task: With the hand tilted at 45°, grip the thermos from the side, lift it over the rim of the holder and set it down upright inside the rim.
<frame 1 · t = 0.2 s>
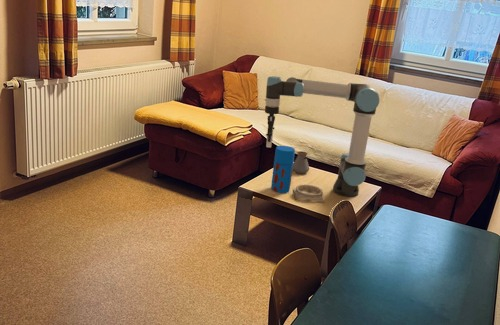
hand: (269, 144, 267), 28 cm above the table, tool pointing down, fingers open, 13 cm apart
thermos stand: (308, 195, 276), on the table
thermos: (280, 190, 281), on the table
coffee pot: (301, 174, 309), on the table
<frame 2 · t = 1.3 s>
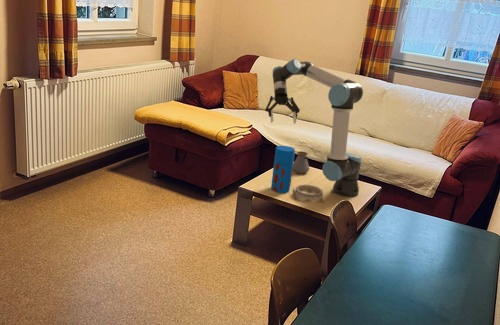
hand: (283, 122, 278), 38 cm above the table, tool tilted 45°, fingers open, 13 cm apart
nothing on the table moved.
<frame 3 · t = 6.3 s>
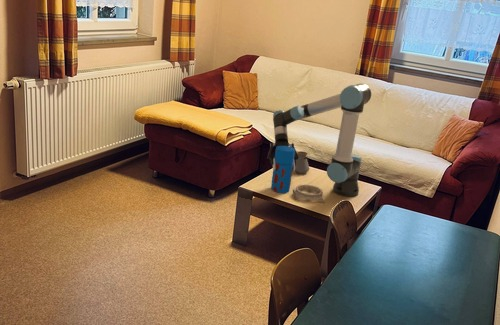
hand: (284, 170, 274), 13 cm above the table, tool tilted 45°, fingers closed on thermos, 11 cm apart
thermos: (280, 190, 281), on the table, touching gripper
everything else where it was.
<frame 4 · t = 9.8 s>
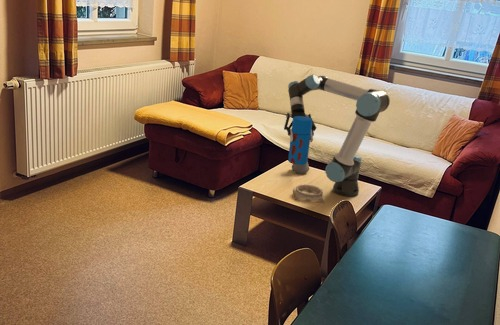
hand: (301, 140, 266), 32 cm above the table, tool tilted 45°, fingers closed on thermos, 11 cm apart
thermos: (297, 162, 273), point 18 cm above the table, touching gripper
everything else where it was.
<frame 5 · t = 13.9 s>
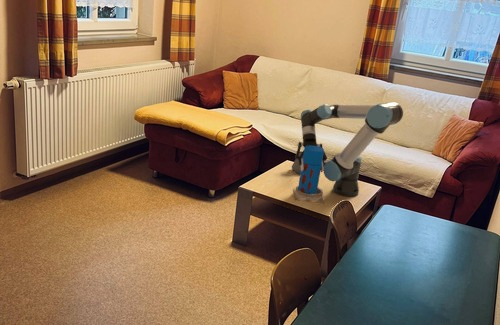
hand: (312, 170, 268), 16 cm above the table, tool tilted 45°, fingers closed on thermos, 11 cm apart
thermos: (307, 190, 275), point 3 cm above the table, touching gripper, thermos stand
everything else where it was.
when the fingers open (16 cm above the table, at t = 14.2 s): thermos drops 2 cm, resting on thermos stand.
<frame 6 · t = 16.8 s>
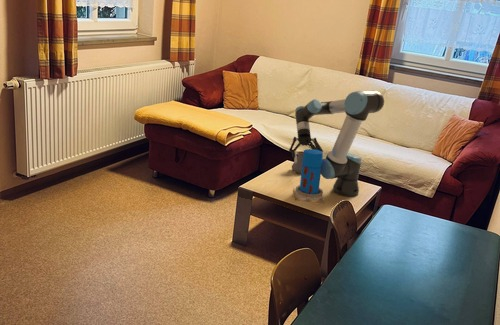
hand: (307, 163, 280), 16 cm above the table, tool tilted 45°, fingers open, 13 cm apart
thermos: (308, 194, 275), point 1 cm above the table, touching thermos stand
everything else where it was.
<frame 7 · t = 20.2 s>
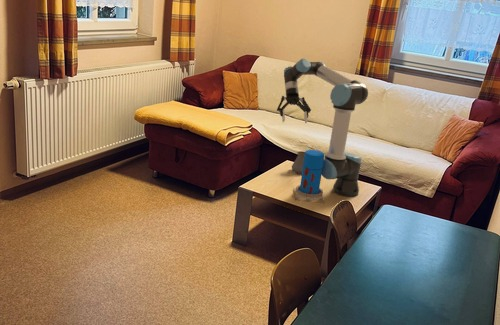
hand: (295, 121, 282), 38 cm above the table, tool tilted 45°, fingers open, 13 cm apart
at the end: thermos 0.3 cm off-centre on the thermos stand, point 0.6 cm above the thermos stand's base; thermos tilted 0°; the gripper is holding nothing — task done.
